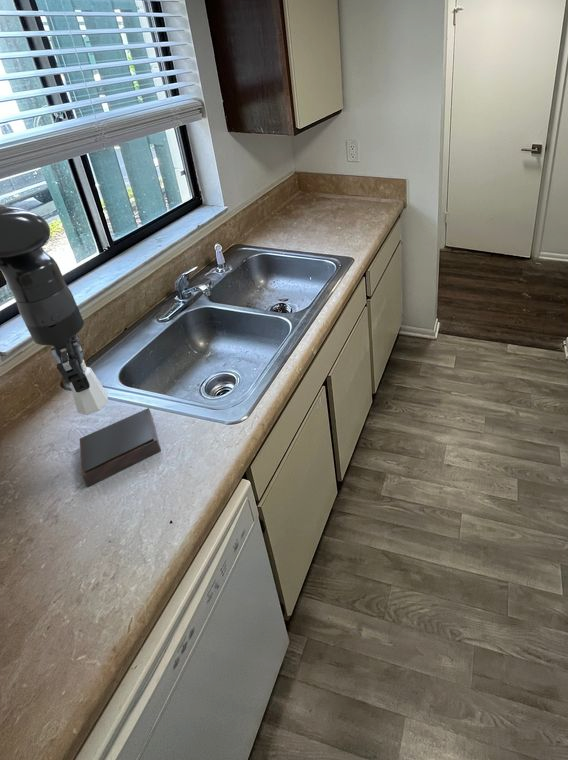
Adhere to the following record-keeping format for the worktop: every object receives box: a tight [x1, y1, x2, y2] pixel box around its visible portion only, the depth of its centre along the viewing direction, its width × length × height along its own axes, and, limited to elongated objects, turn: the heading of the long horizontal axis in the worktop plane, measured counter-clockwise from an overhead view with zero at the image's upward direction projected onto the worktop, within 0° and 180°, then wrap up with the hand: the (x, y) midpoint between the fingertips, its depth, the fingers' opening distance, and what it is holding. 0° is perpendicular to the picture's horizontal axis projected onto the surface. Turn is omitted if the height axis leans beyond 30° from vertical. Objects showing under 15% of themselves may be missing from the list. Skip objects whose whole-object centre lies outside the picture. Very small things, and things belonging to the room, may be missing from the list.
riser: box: [79, 407, 162, 488], centre depth 98 cm, size 14×11×4 cm
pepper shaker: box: [69, 359, 109, 416], centre depth 85 cm, size 5×5×11 cm
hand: (82, 381), depth 85 cm, fingers closed on pepper shaker, 3 cm apart
